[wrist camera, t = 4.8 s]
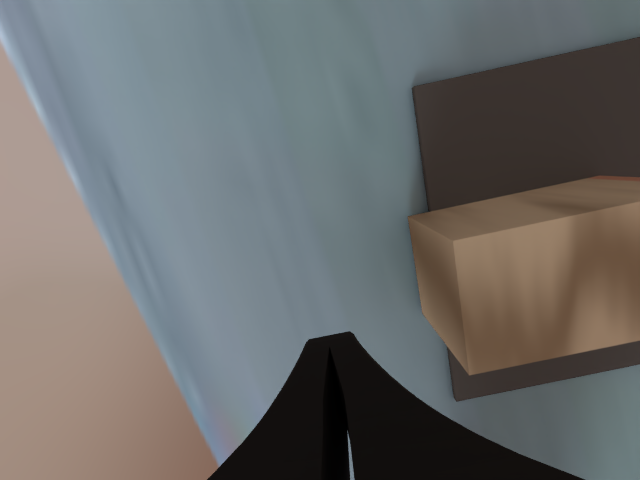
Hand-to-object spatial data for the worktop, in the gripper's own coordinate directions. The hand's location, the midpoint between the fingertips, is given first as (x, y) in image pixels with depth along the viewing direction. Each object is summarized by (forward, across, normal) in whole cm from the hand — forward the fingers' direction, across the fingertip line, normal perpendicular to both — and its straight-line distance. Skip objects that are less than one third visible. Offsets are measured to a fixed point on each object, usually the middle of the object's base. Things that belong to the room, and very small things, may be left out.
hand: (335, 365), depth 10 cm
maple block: (+4, -4, 0) cm, 6 cm away
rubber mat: (+7, -11, 0) cm, 13 cm away
